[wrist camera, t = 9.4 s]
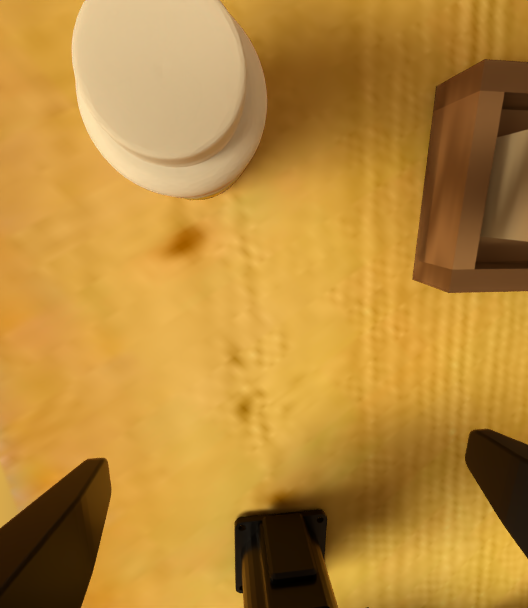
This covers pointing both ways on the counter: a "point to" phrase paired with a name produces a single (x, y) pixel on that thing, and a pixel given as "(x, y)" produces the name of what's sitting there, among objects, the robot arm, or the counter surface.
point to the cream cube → (508, 190)
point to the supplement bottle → (169, 92)
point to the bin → (470, 181)
